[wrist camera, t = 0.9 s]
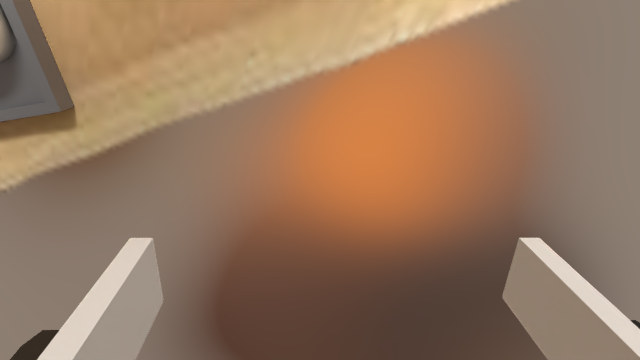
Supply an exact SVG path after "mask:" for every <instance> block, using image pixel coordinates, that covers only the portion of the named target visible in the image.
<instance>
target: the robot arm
mask: <svg viewBox="0 0 640 360" xmlns="http://www.w3.org/2000/svg"><path fill="white" fill-rule="evenodd" d="M502 298H503V299H504V301H505V302H506V303H507V305H508V306H509V307H510V309H511V310H512V312H513V313H514V314H515V316H516V317H517V318H518V320H519V321H520V322H521V324H522V325H523V326H524V328H525V329H526V331H527V332H528V333H529V335H530V336H531V337H532V339H533V340H534V342H535V343H536V344H537V346H538V347H539V348H540V350H541V351H542V352H543V354H544V355H545V356H546V358H547V359H548V360H640V323H639V322H637V321H636V320H629V319H628V318H627V317H626V316H625V315H624V314H622V313H621V312H620V311H619V310H618V309H617V308H616V307H615V306H613V305H612V304H611V303H610V302H609V301H608V300H607V299H606V298H605V297H604V296H603V295H601V294H600V293H599V292H598V291H597V290H596V289H595V288H594V287H593V286H592V285H590V284H589V283H588V282H587V281H586V280H585V279H584V278H583V277H582V276H581V275H579V274H578V273H577V272H576V271H575V270H574V269H573V268H572V267H571V266H570V265H568V264H567V263H566V262H565V261H564V260H563V259H562V258H561V257H560V256H558V255H557V254H556V253H555V252H554V251H553V250H552V249H551V248H550V247H549V246H548V245H546V244H545V243H544V242H543V241H542V240H541V239H540V238H519V240H518V244H517V248H516V251H515V254H514V258H513V261H512V265H511V269H510V272H509V275H508V279H507V282H506V286H505V289H504V293H503V296H502ZM162 303H163V295H162V289H161V283H160V277H159V271H158V265H157V259H156V254H155V247H154V241H153V238H130V239H129V240H128V241H127V243H126V244H125V245H124V247H123V248H122V249H121V251H120V252H119V253H118V255H117V256H116V257H115V259H114V260H113V261H112V262H111V264H110V265H109V266H108V268H107V269H106V270H105V272H104V273H103V274H102V275H101V277H100V278H99V279H98V281H97V282H96V283H95V285H94V286H93V287H92V289H91V290H90V291H89V292H88V294H87V295H86V296H85V298H84V299H83V300H82V302H81V303H80V304H79V305H78V307H77V308H76V310H75V311H74V312H73V313H72V315H71V316H70V317H69V319H68V320H67V321H66V322H65V324H64V325H63V326H62V328H61V329H60V330H42V331H41V332H40V333H38V334H37V335H36V336H34V337H33V338H32V339H30V340H29V341H28V342H26V343H25V344H24V345H22V346H21V347H20V348H19V350H18V351H17V352H16V353H15V354H14V355H13V357H12V358H11V359H10V360H136V358H137V356H138V354H139V351H140V349H141V347H142V345H143V343H144V341H145V339H146V337H147V335H148V333H149V330H150V328H151V326H152V324H153V322H154V320H155V318H156V316H157V314H158V311H159V309H160V307H161V305H162Z"/></svg>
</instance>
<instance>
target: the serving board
mask: <svg viewBox="0 0 640 360" xmlns="http://www.w3.org/2000/svg"><path fill="white" fill-rule="evenodd" d="M72 107H74V105H73V102H72V100H71V98H70V95H69V93H68V91H67V88H66V86H65V83H64V81H63V79H62V76H61V74H60V72H59V69H58V67H57V64H56V62H55V60H54V57H53V55H52V53H51V50H50V48H49V45H48V43H47V41H46V38H45V36H44V34H43V31H42V29H41V26H40V24H39V22H38V19H37V17H36V15H35V12H34V10H33V7H32V5H31V3H30V0H0V122H2V121H8V120H14V119H20V118H26V117H32V116H38V115H44V114H50V113H56V112H61V111H64V110H67V109H69V108H72Z"/></svg>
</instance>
